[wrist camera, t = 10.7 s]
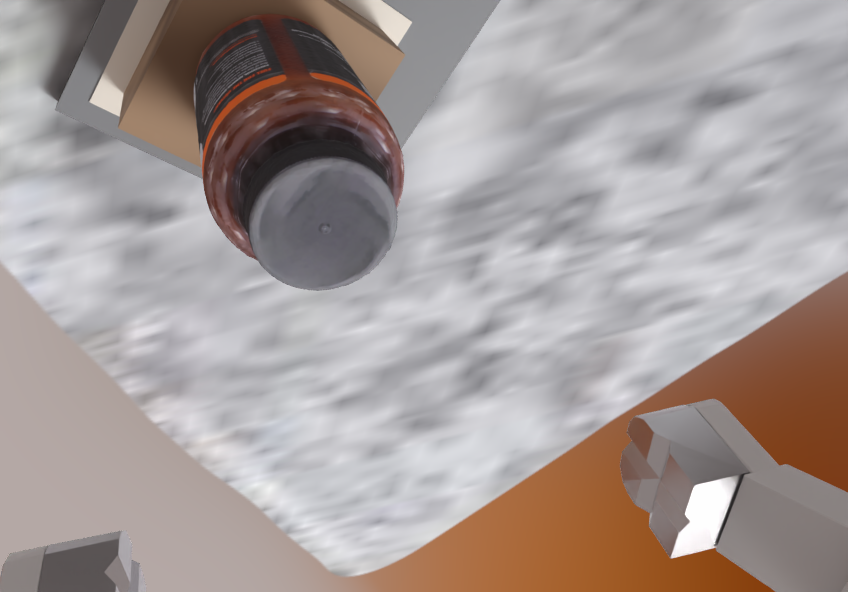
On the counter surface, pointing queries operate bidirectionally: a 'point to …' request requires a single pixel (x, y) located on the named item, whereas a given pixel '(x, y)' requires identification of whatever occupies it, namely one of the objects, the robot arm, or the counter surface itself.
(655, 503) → the robot arm
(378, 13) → the build board
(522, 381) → the counter surface
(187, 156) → the block
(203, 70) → the supplement bottle
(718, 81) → the counter surface
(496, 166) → the counter surface
